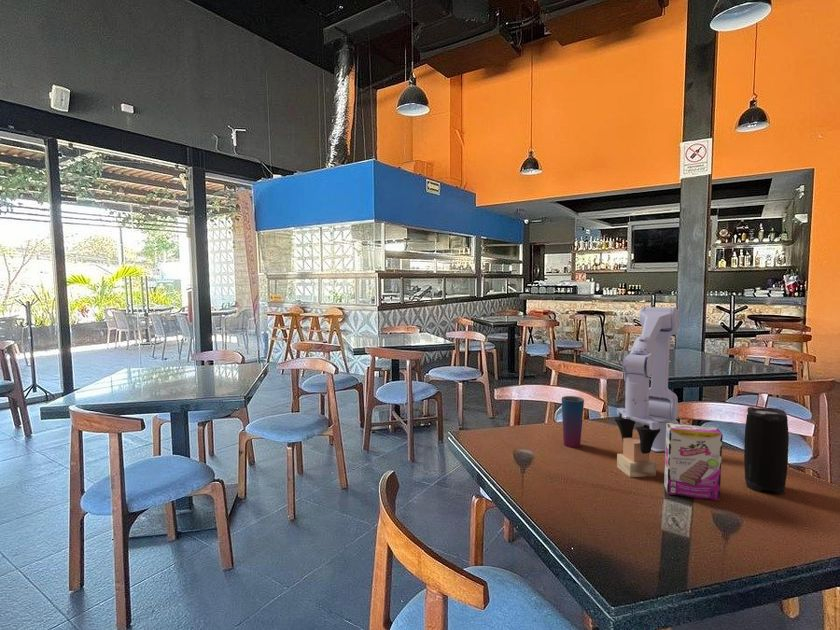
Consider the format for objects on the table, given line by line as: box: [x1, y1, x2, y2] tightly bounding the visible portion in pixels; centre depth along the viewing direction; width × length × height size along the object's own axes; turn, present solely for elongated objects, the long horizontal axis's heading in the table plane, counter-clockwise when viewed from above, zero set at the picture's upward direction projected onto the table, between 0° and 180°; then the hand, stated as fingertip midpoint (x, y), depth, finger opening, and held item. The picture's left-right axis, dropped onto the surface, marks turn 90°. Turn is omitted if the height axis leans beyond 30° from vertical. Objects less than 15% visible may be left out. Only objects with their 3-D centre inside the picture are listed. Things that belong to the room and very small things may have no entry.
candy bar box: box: [663, 423, 724, 501], centre depth 108 cm, size 11×5×16 cm, turn 71°
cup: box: [561, 395, 585, 449], centre depth 143 cm, size 7×7×15 cm
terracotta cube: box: [622, 436, 650, 462], centre depth 122 cm, size 4×4×5 cm
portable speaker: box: [743, 406, 790, 495], centre depth 111 cm, size 9×9×20 cm
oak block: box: [616, 453, 657, 478], centre depth 123 cm, size 7×7×4 cm
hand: (636, 448), depth 122 cm, fingers open, 7 cm apart
